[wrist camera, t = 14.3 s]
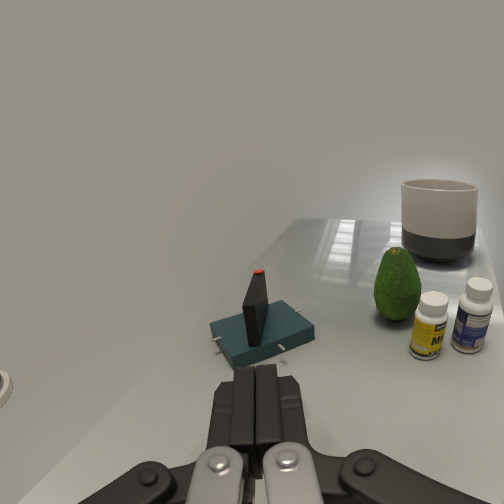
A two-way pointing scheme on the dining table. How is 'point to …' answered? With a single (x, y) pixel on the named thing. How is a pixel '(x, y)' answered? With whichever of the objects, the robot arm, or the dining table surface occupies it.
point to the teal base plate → (273, 339)
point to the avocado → (397, 285)
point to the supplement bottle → (429, 325)
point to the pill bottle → (473, 316)
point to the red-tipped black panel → (255, 308)
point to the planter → (439, 218)
